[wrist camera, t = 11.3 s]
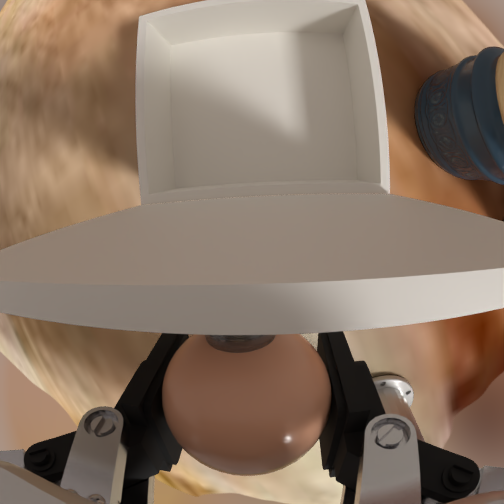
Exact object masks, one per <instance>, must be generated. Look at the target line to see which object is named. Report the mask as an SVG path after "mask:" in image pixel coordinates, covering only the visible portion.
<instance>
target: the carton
mask: <svg viewBox="0 0 504 504" xmlns="http://www.w3.org/2000/svg"><path fill="white" fill-rule="evenodd" d="M136 139H137V158H138V172H139V184H140V195H141V205H148V204H158V203H168V202H179V201H191V200H204V199H217V198H233V197H250V196H271V195H298V194H390V168H389V145H388V131H387V119H386V109H385V100H384V92H383V84H382V77H381V71H380V65H379V59H378V54H377V48H376V43H375V38H374V34H373V29H372V25H371V21H370V17H369V13H368V9H367V5H366V1H365V0H207V1H201V2H195V3H190V4H185V5H181V6H176V7H172V8H168V9H164V10H160V11H156V12H153V13H149V14H146V15H143V16H139V24H138V37H137V54H136Z"/></svg>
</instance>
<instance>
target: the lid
mask: <svg viewBox="0 0 504 504" xmlns="http://www.w3.org/2000/svg"><path fill="white" fill-rule="evenodd" d="M500 308H504V222H503V221H500V220H496V219H493V218H490V217H486V216H482V215H479V214H475V213H471V212H468V211H464V210H460V209H456V208H452V207H448V206H444V205H439V204H435V203H431V202H426V201H422V200H417V199H412V198H408V197H403V196H398V195H393V194H306V195H276V196H254V197H236V198H220V199H206V200H194V201H182V202H170V203H160V204H150V205H141V206H137V207H133V208H129V209H125V210H122V211H118V212H115V213H111V214H107V215H104V216H100V217H97V218H94V219H90V220H87V221H84V222H80V223H77V224H74V225H71V226H67V227H64V228H61V229H58V230H55V231H52V232H49V233H46V234H43V235H40V236H37V237H34V238H32V239H29V240H26V241H23V242H20V243H18V244H15V245H12V246H9V247H7V248H4V249H2V250H0V312H1V313H6V314H11V315H16V316H21V317H27V318H33V319H38V320H45V321H51V322H58V323H65V324H72V325H80V326H88V327H97V328H106V329H117V330H128V331H141V332H155V333H174V334H193V335H192V336H190V337H189V338H188V339H187V340H186V341H185V342H184V343H183V344H182V345H181V346H180V347H179V349H178V350H177V351H176V353H175V354H174V356H173V357H172V359H171V361H170V363H169V365H168V367H167V370H166V373H165V376H164V381H163V387H162V406H163V411H164V415H165V419H166V422H167V424H168V426H169V428H170V430H171V432H172V434H173V436H174V437H175V439H176V440H177V442H178V443H179V444H180V446H181V447H182V448H183V449H184V450H185V451H186V452H187V453H188V454H189V455H191V456H192V457H193V458H195V459H196V460H197V461H199V462H200V463H202V464H204V465H205V466H207V467H209V468H212V469H214V470H217V471H220V472H223V473H227V474H232V475H240V476H255V475H263V474H268V473H272V472H275V471H278V470H280V469H283V468H285V467H287V466H289V465H291V464H292V463H294V462H296V461H297V460H298V459H300V458H301V457H303V456H304V455H305V454H306V453H307V452H308V451H309V450H310V449H311V448H312V447H313V446H314V444H315V443H316V442H317V441H318V439H319V438H320V436H321V434H322V432H323V430H324V428H325V426H326V424H327V421H328V418H329V414H330V410H331V400H332V391H331V383H330V378H329V375H328V372H327V369H326V366H325V364H324V362H323V361H322V359H321V357H320V355H319V354H318V352H317V351H316V350H315V349H314V347H313V346H312V345H311V344H310V343H309V341H307V340H306V339H305V338H304V337H303V336H301V335H300V334H305V333H323V332H338V331H351V330H362V329H373V328H382V327H391V326H400V325H408V324H415V323H423V322H429V321H436V320H442V319H448V318H454V317H460V316H466V315H471V314H476V313H481V312H486V311H491V310H495V309H500Z"/></svg>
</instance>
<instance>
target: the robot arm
mask: <svg viewBox="0 0 504 504" xmlns="http://www.w3.org/2000/svg"><path fill="white" fill-rule="evenodd" d="M188 338H189V336H188V334H174V333H162V335H161V336H160V338H159V340H158V341H157V343H156V345H155V346H154V348H153V349H152V351H151V353H150V354H149V356H148V358H147V359H146V360H145V361H143V362H142V363H141V364H140V366H139V368H138V369H137V371H136V373H135V374H134V376H133V378H132V379H131V381H130V382H129V384H128V386H127V387H126V389H125V391H124V392H123V394H122V396H121V398H120V399H119V401H118V403H117V404H116V406H115V408H112V407H106V406H104V407H97V408H94V409H91V410H90V411H88V412H87V413H86V414H85V415H83V417H82V419H81V420H80V423H79V426H78V429H77V431H75V432H71V433H68V434H65V435H62V436H59V437H56V438H52V439H49V440H46V441H42V442H39V443H36V444H34V445H32V446H31V447H29V448H28V450H27V451H26V452H25V451H24V450H23V449H22V450H10V451H0V504H154V478H155V477H154V475H156V474H158V473H159V471H160V470H164V471H169V472H170V471H171V468H172V465H173V464H174V465H176V464H177V463H178V461H179V458H180V454H181V451H182V447H181V446H180V444H179V443H178V442H177V440H176V439H175V437H174V436H173V434H172V432H171V430H170V428H169V426H168V424H167V422H166V419H165V415H164V411H163V406H162V387H163V381H164V376H165V373H166V370H167V367H168V365H169V363H170V361H171V359H172V357H173V356H174V354H175V353H176V351H177V350H178V349H179V347H180V346H181V345H182V344H183V343H184V342H185V341H186V340H187V339H188ZM317 352H318V354H319V355H320V357H321V359H322V361H323V362H324V364H325V366H326V369H327V372H328V375H329V378H330V383H331V391H332V400H331V410H330V414H329V418H328V421H327V424H326V426H325V428H324V430H323V432H322V434H321V436H320V438H319V440H320V448H321V457H322V466H323V469H324V470H326V469H329V475H330V477H336V481H338V482H339V483H341V484H343V491H342V497H341V503H340V504H504V468H500V467H491V466H484V467H483V468H482V469H480V468H478V466H477V464H476V463H474V461H472V460H470V459H468V458H466V457H463V456H460V455H458V454H455V453H452V452H449V451H447V450H444V449H441V448H439V447H436V446H433V445H431V444H428V443H426V442H425V441H424V438H423V436H422V434H421V432H420V429H419V427H418V425H417V423H416V420H415V418H414V416H413V414H412V412H411V409H410V406H411V404H412V402H413V398H414V392H413V389H412V387H411V385H410V383H409V382H408V381H407V380H406V379H404V378H402V377H399V376H394V375H386V376H379V377H375V378H372V376H371V374H370V371H369V369H368V367H367V364H366V362H365V361H355V362H354V360H353V357H352V354H351V352H350V349H349V346H348V343H347V341H346V338H345V335H344V333H343V331H338V332H323V333H319V334H318V346H317Z"/></svg>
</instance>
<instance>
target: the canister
mask: <svg viewBox="0 0 504 504" xmlns="http://www.w3.org/2000/svg"><path fill="white" fill-rule="evenodd" d="M415 122H416V127H417V131H418V134H419V137H420V140H421V142H422V144H423V146H424V148H425V150H426V152H427V153H428V155H429V156H430V157H431V159H432V160H433V161H434V162H435V163H436V164H437V165H438V166H439V167H440V168H441V169H443V170H444V171H446V172H448V173H450V174H452V175H454V176H456V177H458V178H461V179H467V180H478V179H480V180H487V181H493V182H495V183H498V184H501V185H504V49H503V48H500V47H487V48H485V49H483V50H482V51H480V52H479V54H478V55H474V56H469V57H466V58H465V59H463V60H462V61H461V62H460V63H458V64H456V65H454V66H452V67H450V68H448V69H447V70H442V71H439V72H437V73H435V74H433V75H432V76H430V77H429V78H428V79H427V80H426V81H425V83H424V84H423V85H422V87H421V88H420V90H419V92H418V94H417V97H416V101H415Z"/></svg>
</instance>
